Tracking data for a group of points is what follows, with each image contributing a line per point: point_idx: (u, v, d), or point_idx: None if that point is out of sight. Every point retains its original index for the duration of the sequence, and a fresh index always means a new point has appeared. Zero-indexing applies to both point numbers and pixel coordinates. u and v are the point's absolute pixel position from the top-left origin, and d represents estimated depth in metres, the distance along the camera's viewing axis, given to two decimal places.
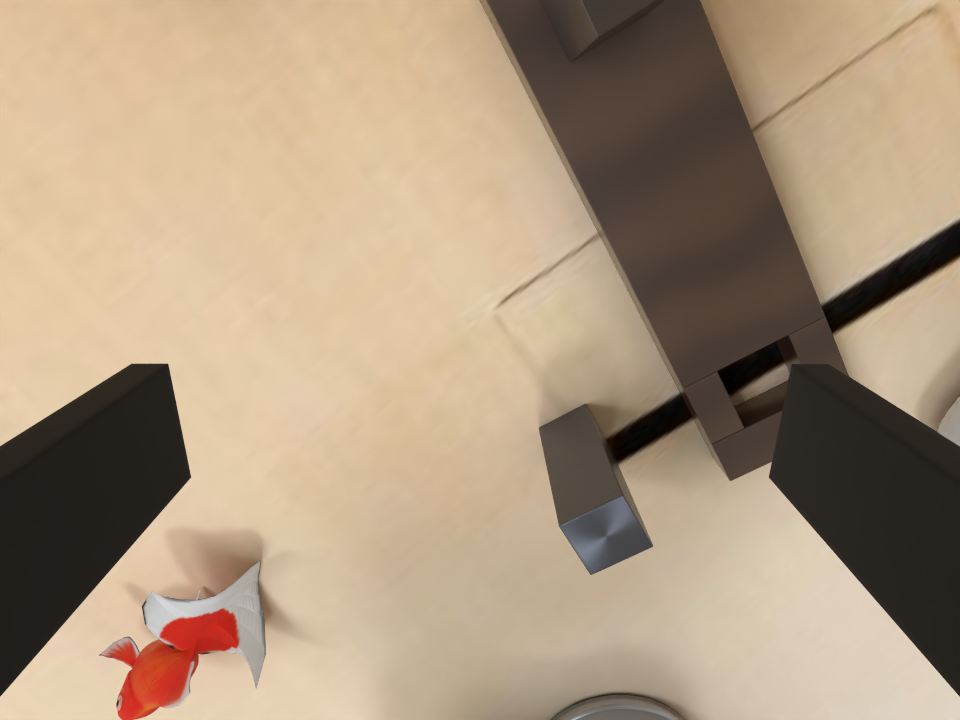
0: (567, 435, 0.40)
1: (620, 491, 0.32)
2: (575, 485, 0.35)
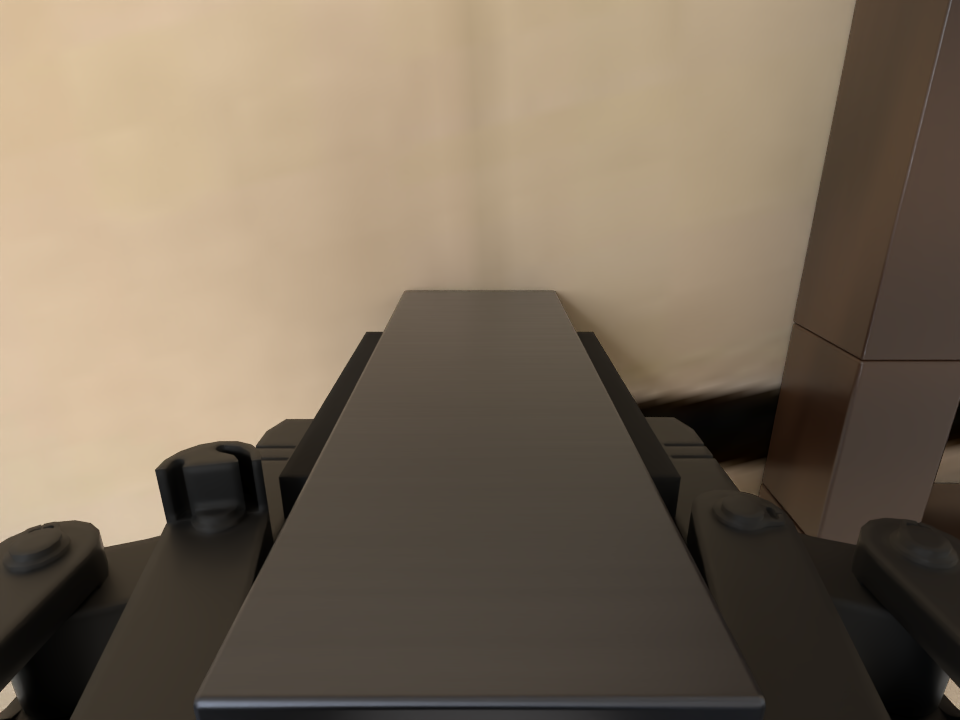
0: (477, 325, 0.12)
1: (736, 653, 0.04)
2: (444, 476, 0.07)
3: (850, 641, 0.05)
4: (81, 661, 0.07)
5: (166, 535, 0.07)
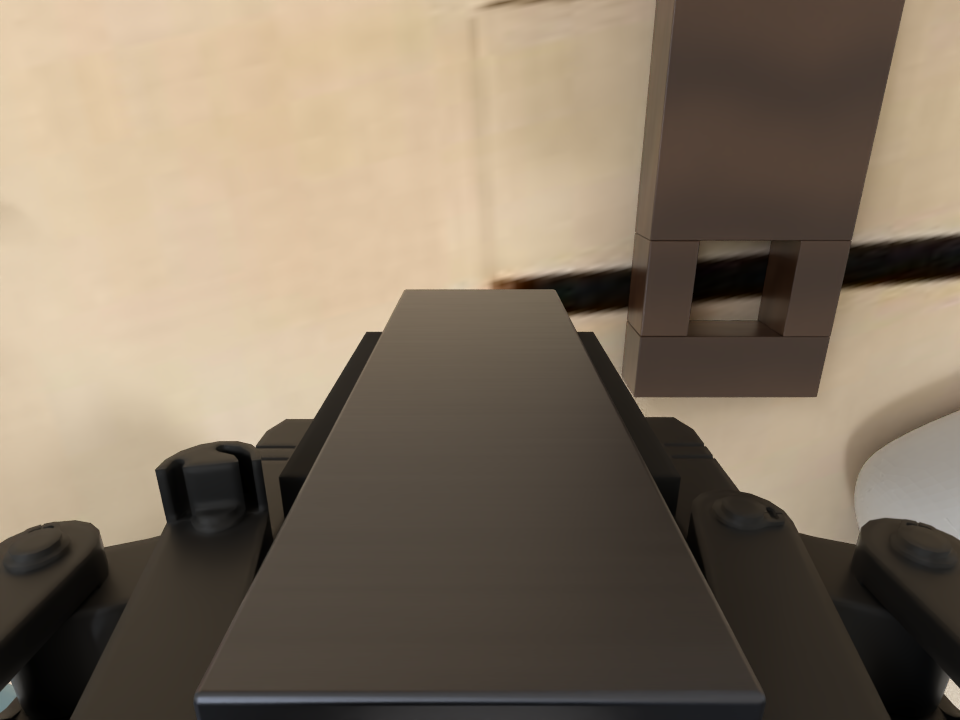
0: (478, 323, 0.12)
1: (736, 649, 0.04)
2: (444, 473, 0.07)
3: (850, 641, 0.05)
4: (81, 661, 0.07)
5: (167, 535, 0.07)
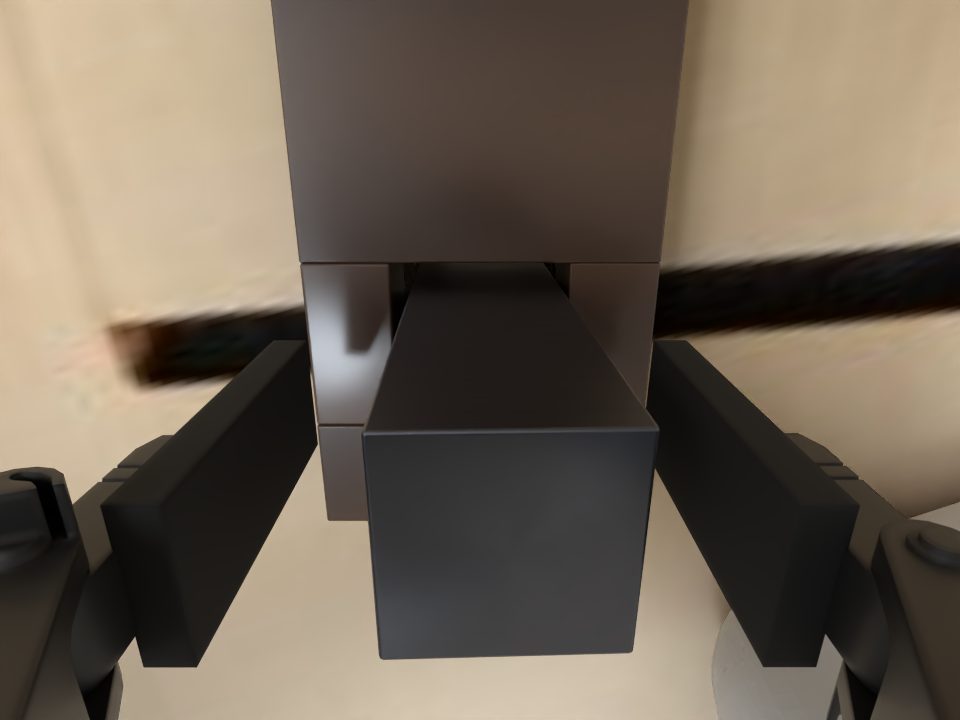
0: (483, 281, 0.16)
1: (647, 414, 0.08)
2: (475, 356, 0.10)
3: None
4: None
5: None
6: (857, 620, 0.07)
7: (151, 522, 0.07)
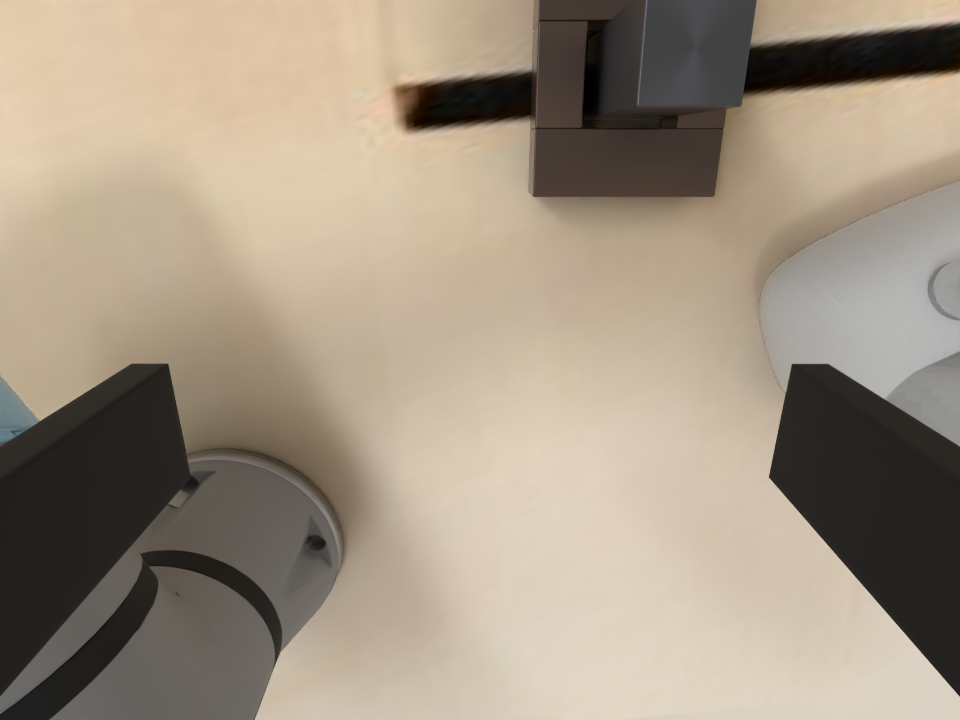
0: None
1: None
2: None
3: None
4: None
5: None
6: None
7: None
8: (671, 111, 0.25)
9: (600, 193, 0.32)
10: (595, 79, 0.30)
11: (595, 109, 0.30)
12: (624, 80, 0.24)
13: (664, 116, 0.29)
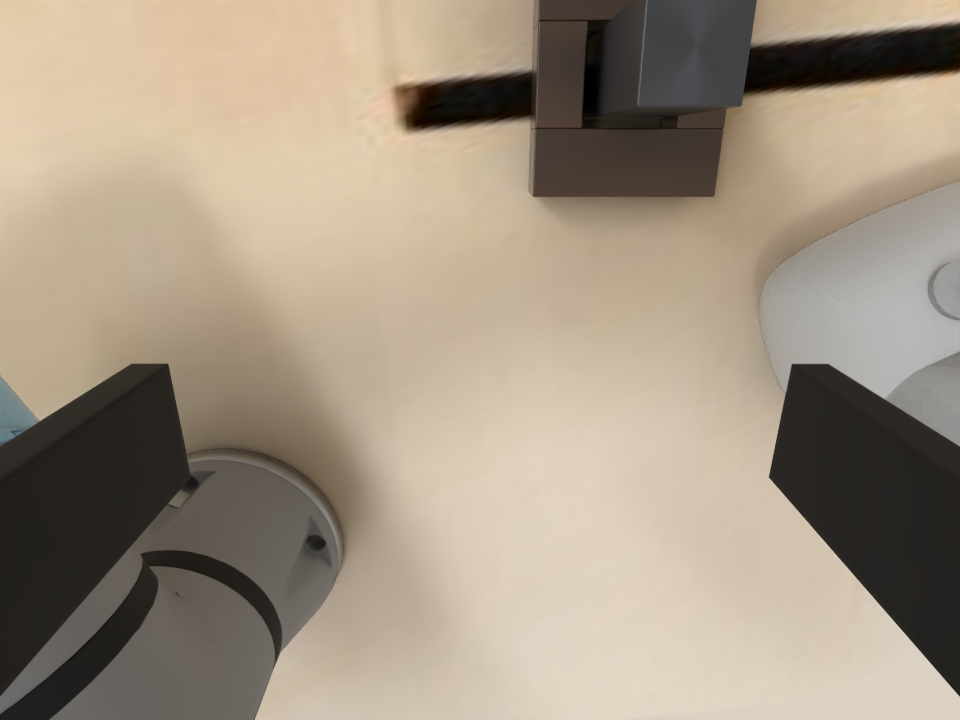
0: None
1: None
2: None
3: None
4: None
5: None
6: None
7: None
8: (671, 111, 0.25)
9: (600, 193, 0.32)
10: (595, 79, 0.30)
11: (595, 109, 0.30)
12: (624, 80, 0.24)
13: (664, 116, 0.29)
